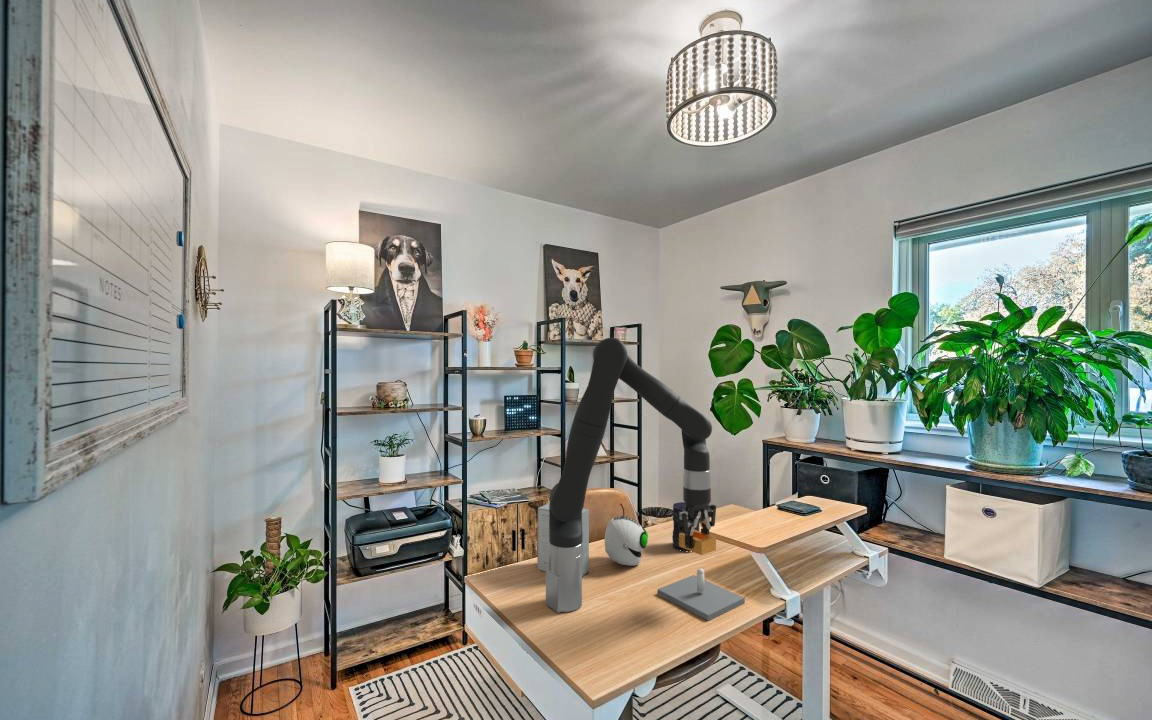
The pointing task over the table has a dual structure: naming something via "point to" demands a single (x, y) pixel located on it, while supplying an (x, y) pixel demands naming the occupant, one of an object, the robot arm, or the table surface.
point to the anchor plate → (701, 596)
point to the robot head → (625, 540)
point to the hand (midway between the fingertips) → (697, 545)
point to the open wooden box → (699, 542)
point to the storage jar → (676, 532)
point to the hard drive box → (544, 539)
